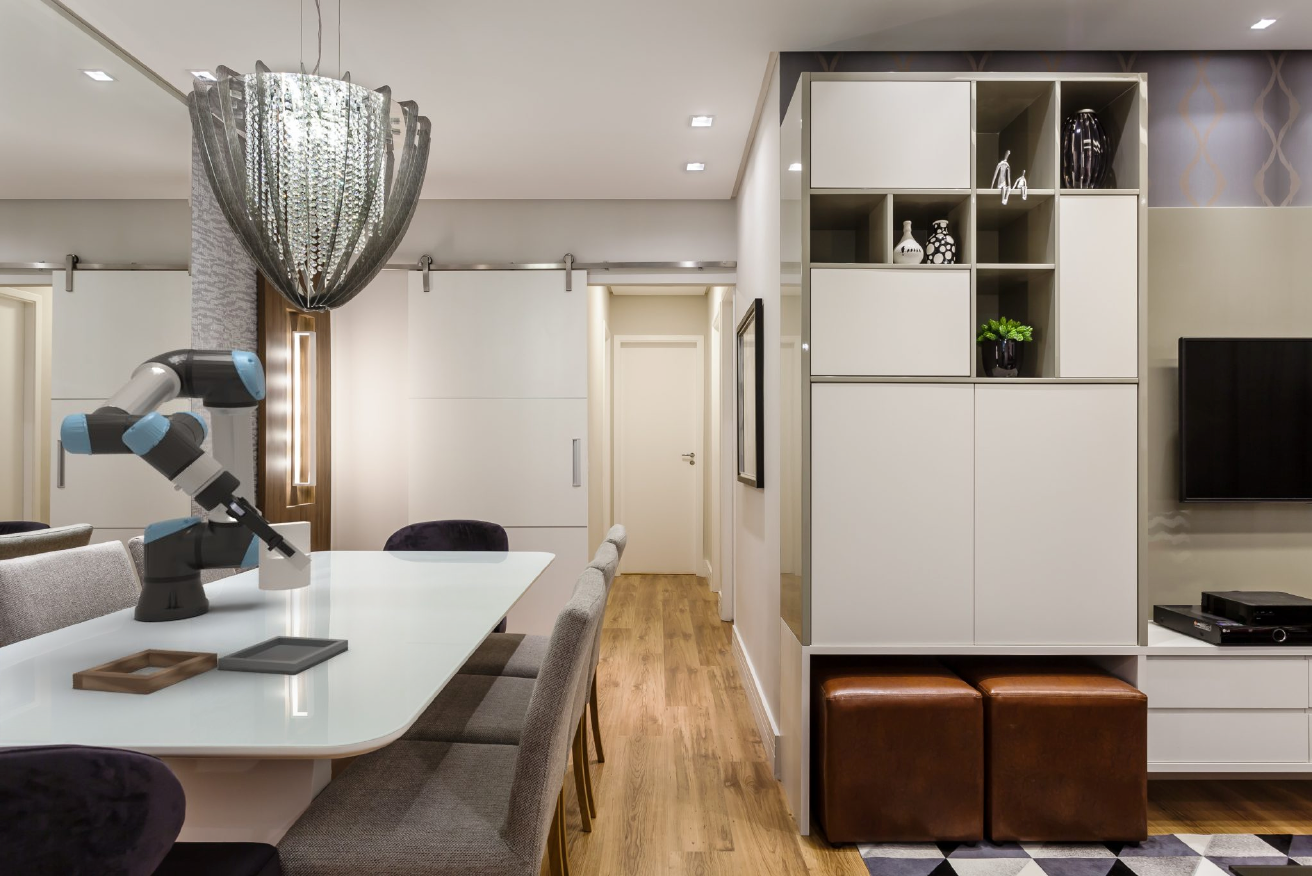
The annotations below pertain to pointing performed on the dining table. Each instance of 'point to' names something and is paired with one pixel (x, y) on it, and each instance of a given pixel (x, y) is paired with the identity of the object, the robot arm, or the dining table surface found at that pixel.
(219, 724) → the dining table surface
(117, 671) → the walnut collar
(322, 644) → the charcoal tray
